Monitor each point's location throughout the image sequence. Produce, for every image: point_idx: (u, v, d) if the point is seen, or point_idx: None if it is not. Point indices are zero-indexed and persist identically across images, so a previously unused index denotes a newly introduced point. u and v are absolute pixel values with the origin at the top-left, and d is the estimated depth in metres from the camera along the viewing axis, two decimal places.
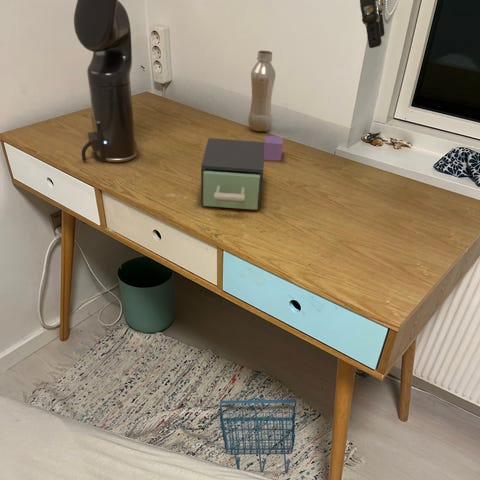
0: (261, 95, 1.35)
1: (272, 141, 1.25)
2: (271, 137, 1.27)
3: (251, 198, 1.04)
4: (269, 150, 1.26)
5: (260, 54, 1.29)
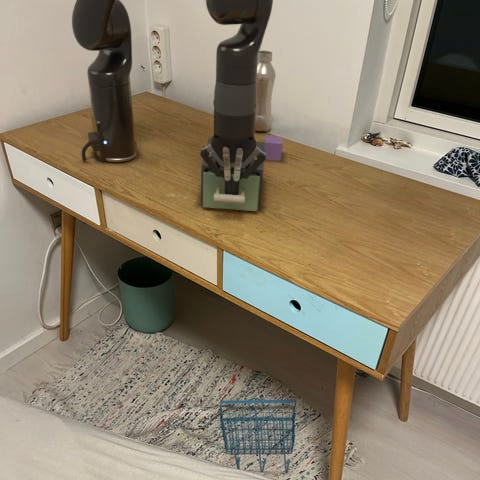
0: (261, 95, 1.35)
1: (272, 141, 1.25)
2: (271, 137, 1.27)
3: (251, 199, 1.04)
4: (269, 150, 1.26)
5: (260, 54, 1.29)
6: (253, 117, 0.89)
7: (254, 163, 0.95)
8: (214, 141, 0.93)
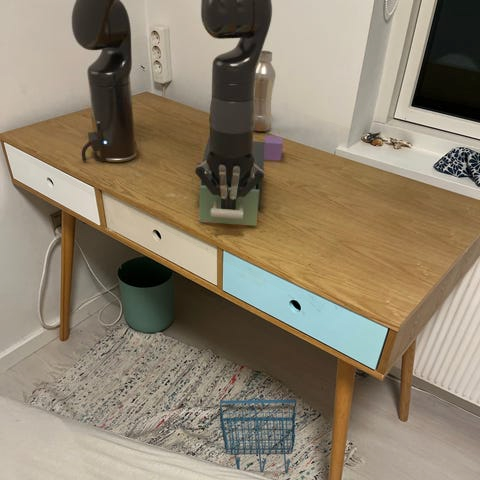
0: (261, 95, 1.35)
1: (272, 141, 1.25)
2: (271, 137, 1.27)
3: (250, 214, 0.99)
4: (269, 150, 1.26)
5: None
6: (251, 134, 0.85)
7: (252, 181, 0.91)
8: (210, 158, 0.89)
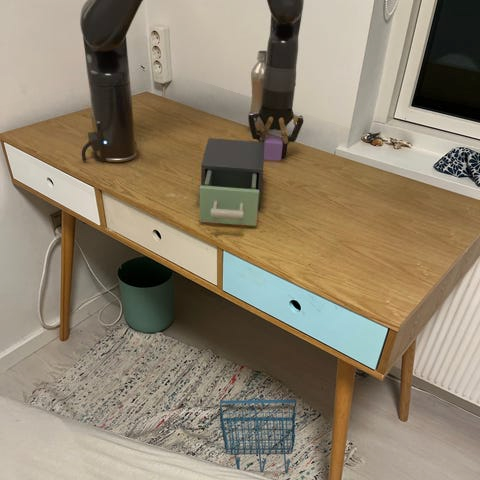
0: (261, 95, 1.35)
1: (272, 141, 1.25)
2: (271, 137, 1.27)
3: (250, 214, 0.99)
4: (269, 150, 1.26)
5: (260, 54, 1.29)
6: (293, 93, 1.18)
7: (296, 127, 1.23)
8: (262, 111, 1.21)
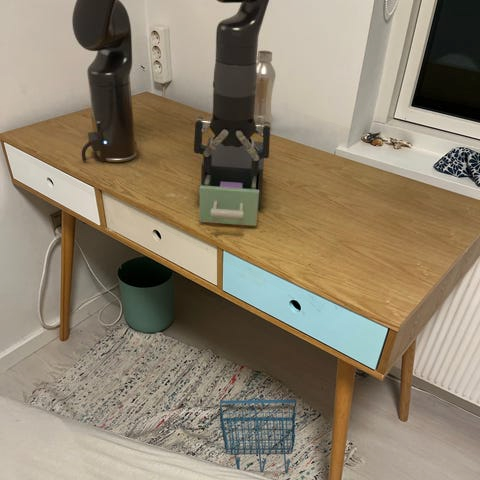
0: (261, 95, 1.35)
1: None
2: (227, 183, 1.02)
3: (250, 214, 0.99)
4: None
5: (260, 54, 1.29)
6: (253, 99, 0.88)
7: (264, 139, 0.93)
8: (216, 123, 0.92)
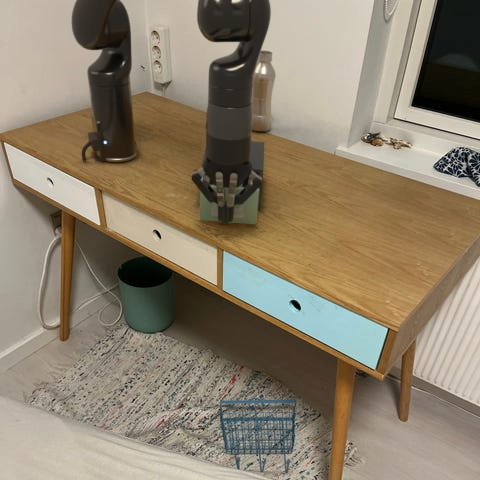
0: (261, 95, 1.35)
1: None
2: None
3: (250, 212, 0.99)
4: None
5: (260, 54, 1.29)
6: (248, 141, 0.83)
7: (249, 189, 0.88)
8: (206, 165, 0.86)
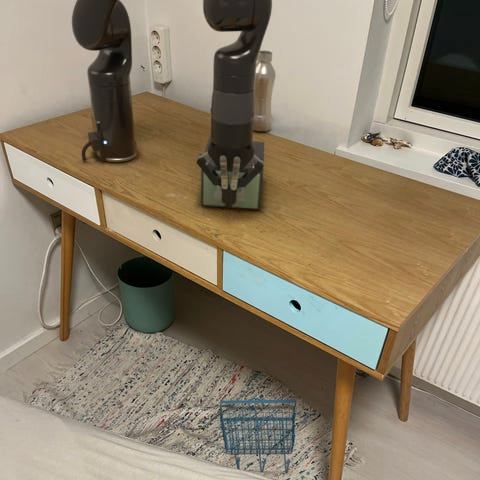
0: (261, 95, 1.35)
1: None
2: None
3: (251, 197, 1.04)
4: None
5: (260, 54, 1.29)
6: (251, 125, 0.87)
7: (252, 172, 0.93)
8: (211, 149, 0.91)
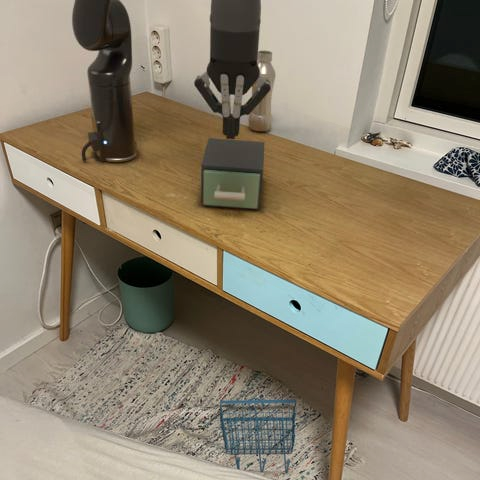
0: None
1: None
2: None
3: (251, 197, 1.04)
4: None
5: (260, 54, 1.29)
6: (256, 36, 0.76)
7: (257, 95, 0.82)
8: (210, 67, 0.79)
